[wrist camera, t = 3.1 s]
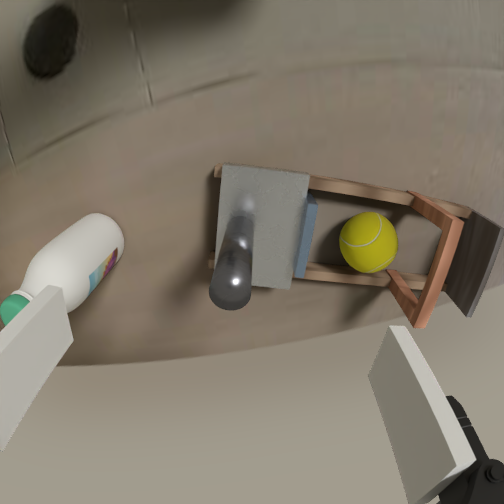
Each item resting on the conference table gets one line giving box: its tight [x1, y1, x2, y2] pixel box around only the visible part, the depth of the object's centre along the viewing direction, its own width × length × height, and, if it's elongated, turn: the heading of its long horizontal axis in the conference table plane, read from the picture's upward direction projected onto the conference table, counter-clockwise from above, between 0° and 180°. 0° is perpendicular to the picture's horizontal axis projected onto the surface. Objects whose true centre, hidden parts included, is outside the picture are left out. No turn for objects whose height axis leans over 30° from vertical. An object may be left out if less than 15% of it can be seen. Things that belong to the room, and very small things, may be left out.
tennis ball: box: [339, 212, 398, 273], centre depth 35 cm, size 7×7×7 cm
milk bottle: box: [0, 213, 124, 326], centre depth 31 cm, size 8×8×20 cm
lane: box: [208, 163, 504, 328], centre depth 33 cm, size 34×13×11 cm, turn 84°
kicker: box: [209, 162, 318, 310], centre depth 30 cm, size 10×14×17 cm
